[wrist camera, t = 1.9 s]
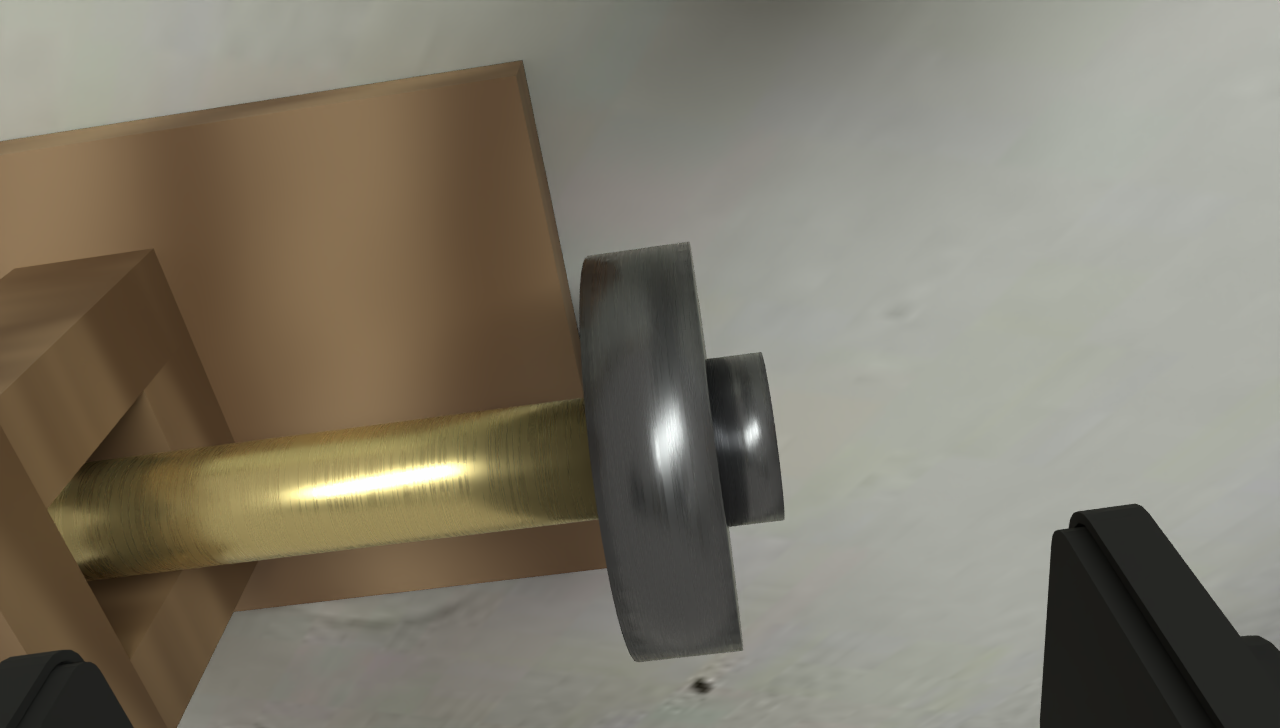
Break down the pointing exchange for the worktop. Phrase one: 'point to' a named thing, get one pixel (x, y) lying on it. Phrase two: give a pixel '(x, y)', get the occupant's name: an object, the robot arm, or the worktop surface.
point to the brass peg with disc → (496, 472)
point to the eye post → (267, 337)
